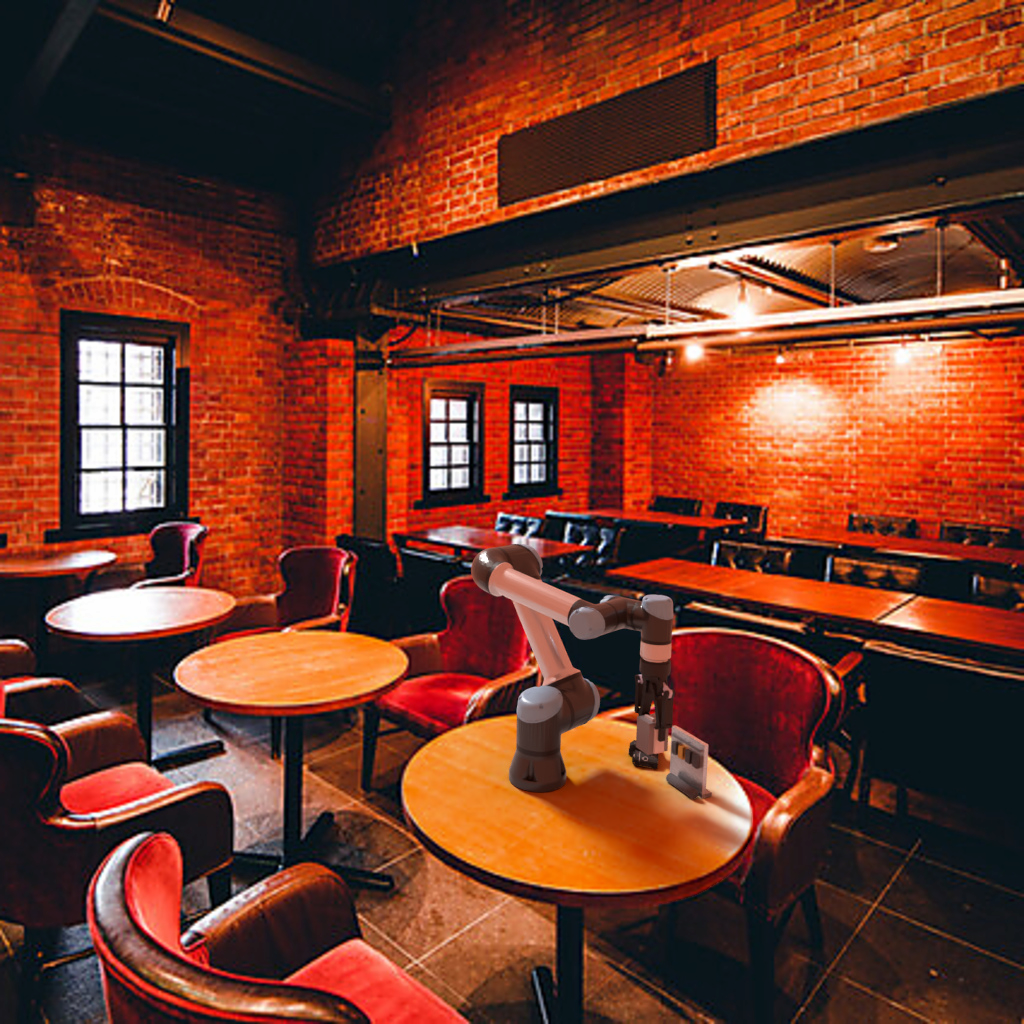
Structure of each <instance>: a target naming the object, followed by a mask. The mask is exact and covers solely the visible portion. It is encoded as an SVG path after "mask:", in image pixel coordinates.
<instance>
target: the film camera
mask: <svg viewBox="0 0 1024 1024" xmlns="http://www.w3.org/2000/svg"><path fill="white" fill-rule="evenodd" d="M628 755H630V757H632V758H631V759H632V760H631V762H632V764H633V765H634V766H637V767H643V768H648V769H649V768H650V769H651V770H653V769H655V770H658V768H659V753H657V754H650V755H647V754H646V753H644V752H643V751H641V750H640V749H638V748H637V747H636V739H635V740H632V741H631V742H629V748H628Z"/></svg>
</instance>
